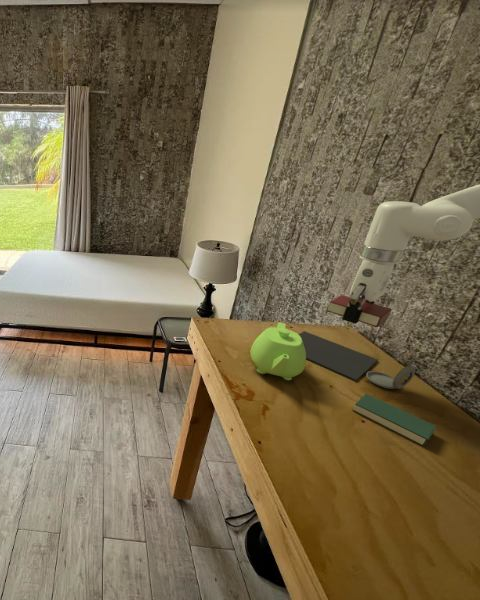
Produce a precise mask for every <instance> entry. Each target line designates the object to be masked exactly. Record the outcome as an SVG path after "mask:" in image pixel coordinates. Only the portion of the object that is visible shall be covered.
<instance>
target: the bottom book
mask: <svg viewBox="0 0 480 600" xmlns="http://www.w3.org/2000/svg"><path fill="white" fill-rule="evenodd" d="M352 411H353V412H355V413H356V414H358V415H360V416H362V417H364V418H366V419H368V420H370V421H372V422H374V423H375V424H378V425H379V426H382V427H384V428H386V429H388V430H390V431H392V432H394V433H396V434H398V435H400V436H401V437H403V438H406V439H407V440H408V441H409V440H410V441H411V442H413V443H415V444H417V445H419V446H421V447H424V448H425V447H426V445H427V443H428V441H429V440H430V438H431V437H432V435H433V433H434V432H435V431H436V428H437V427H438V426H437V425H435V424H433V423H431V422H429V421H427V420H424V419H423V418H420V417H418V416H417V415H414V414H411V413H409V412H407V411H405V410H403V409H400V408H398V407H396V406H394V405H391V404H389V403H388V402H385V401H383V400H381V399H379V398H377V397H374V396H372V395H370V394H368V393H365V394H364V395H363V396H361V398H360V399H358V401H357V402H356V403H355V404H354V406H353V409H352Z"/></svg>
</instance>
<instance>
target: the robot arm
mask: <svg viewBox="0 0 480 600" xmlns="http://www.w3.org/2000/svg"><path fill="white" fill-rule="evenodd" d="M479 219H480V184H477V185H474V186H469V187H467V188H464V189H461V190H459V191H458V190H457V191H455V192H453V193H450V194H447V195H444V196H441V197H438V198H436V199H433V200H430V201H428V202H425V203H424V204H422V205H421V204H419V203H416V202H411V201H400V200H391V201H390V200H389V201H384V202H382V203H380V204H379V205H378V206H377V208H376V211H375V213H374V216H373V219H372V221H371V224H370V227H369V229H368V232H367V235H366V237H365V241H364V242H363V245H362V248H361V251H360V254H359V259H361V260H362V262H361V263H360V266H359V267H358V270H357V272H356V275H355V277H354V280H353V282H352V285H351V288H350V291H349V297H351V299H350V301H349V303H348V305H347V307H346V310H345V312H344V315H343V316H342V318H341V319H342V320H343V321H345V322H349V323H351V324H355V325H356V324H358V323H359V321H358V320H359V318H360V316H361V313H362V311H363V310H361V309H362V307H363V305H364V303H365V302H369V303H372V304H375V301H376V300H378V299H379V298H380V297H382V296H383V295H384V294H385V292H386V290H387V287H388V285H389V282H390V279H391V276H392V274H393V271H394V269H395V268H394V267H395V265H398V264H400V262H401V260H402V258H403V255H404V252H405V250H406V248H407V246H408V243H409V241H410V239H411V237H416V238H419V239H421V238H422V239H425V240H431V241H437V242H444V241H451V240H455V239H458V238H460V237H462V236H464V235H466V234H468V232H469V231H470V230H471V228H472V226H473V224H474V221H475V220H479ZM358 300H361V303H359V301H358Z"/></svg>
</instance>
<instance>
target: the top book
mask: <svg viewBox="0 0 480 600" xmlns="http://www.w3.org/2000/svg"><path fill="white" fill-rule="evenodd" d="M350 299H351V296H347V295H343V294H341V295H339V296H338V297H336V298H334V299H332V300H330V301H329V304H328V307H327V310H326V312H328V313H332V314H335V315H337V316H341V317H343V315H344V312H345V310H346V307H347V305H348V303H349V301H350ZM358 301H359V303H361V300H358ZM361 310H363V311H362V313H361V316H360V318H359V320H358V323H359V322H360V323H362V324H365V325H369V326H372V327H375V328H379V327H380V326H382V324H383V323H385V322H386V321H387V320H388V319H389V317H390V315H391V313H392V310H393V308H390V307H387V306H383V305H379V304H375V303H374V304H372V303H369V302H365V303H364V305H363V307H362V309H361Z"/></svg>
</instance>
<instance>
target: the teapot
mask: <svg viewBox="0 0 480 600" xmlns="http://www.w3.org/2000/svg"><path fill="white" fill-rule="evenodd" d="M286 326H287V324H286V323H285V322H280V321H279V322H277V325H276V326H269V327H267V328H266V329H264V330H263V331H262V332H261V333H260V334H259V335H258V336H257V337H256V338H255V340H254V341H253V343H252V345H251V347H250V351H249V355H250V358H251V360H252V363H253V364H254V366H255V367H256V372H257V373H259V374H261V375H265V374H271V375H273V376H278V377H281V378H282V379H284V380H286V381H292V380H293V378H294V377H296V376H299V375H301V374H302V372H304V370H305V368H306V363H307V360H306V352H305V347H304V344H303V341H302V339H301V337H300V336H299V333H297V332H296V331H294V330H290V329H288V328H286Z"/></svg>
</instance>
